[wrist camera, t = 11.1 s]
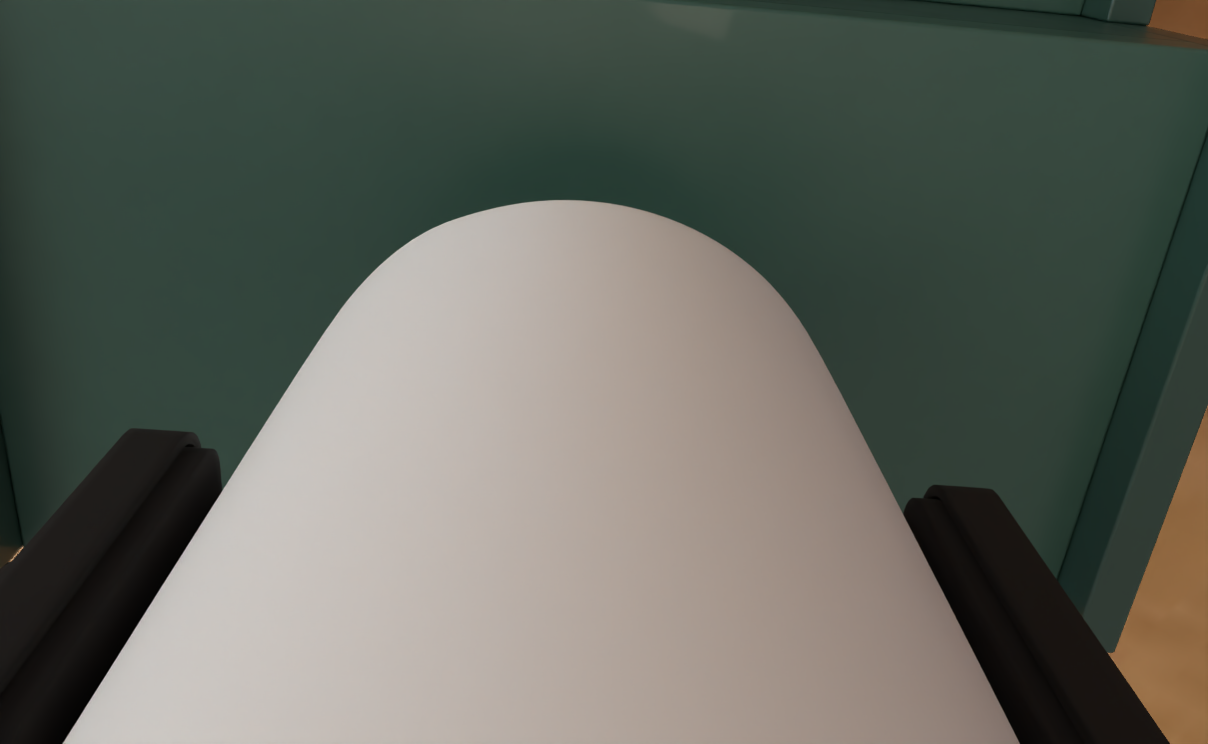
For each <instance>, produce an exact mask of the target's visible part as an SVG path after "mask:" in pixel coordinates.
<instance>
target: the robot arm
mask: <svg viewBox="0 0 1208 744" xmlns="http://www.w3.org/2000/svg"><path fill="white" fill-rule="evenodd" d="M221 492H222V481H221V468H220V460H219V456H218V453H217V451H216V450H215V449H211V448H201V443H200V441H199V438H198V436H197V435H196V434H195V433H194V432H184V431H170V430H156V429H142V428H130V429H129V430H128V431H126V432H125V433H124V434H123V435H122V436H121V437H120V438H119V440H118V441H117V442H116V443H115V444H114V445H113V446H112V448H111V449H110V450H109V451H108V452H107V453H106V454H105V456H104V457H103V458H102V459H101V460H100V461H99V462H98V464H97V465H96V466H95V467H94V468H93V469H92V470H91V472H90V473H89V474H88V475H87V476H86V477H85V478H84V480H83V481H82V482H81V483H80V484H79V485H78V487H77V488H76V489H75V490H74V491H73V492H72V493H71V495H70V496H69V497H68V498H67V499H66V500H65V501H64V503H63V504H62V505H61V506H60V507H59V508H58V509H57V511H56V512H55V513H54V514H53V515H52V516H51V517H50V519H49V520H48V521H47V522H46V523H45V524H44V525H43V527H42V528H41V529H40V530H39V531H38V532H37V533H36V535H35V536H34V537H33V538H32V539H31V540H30V541H29V543H28V544H27V545H26V546H25V547H24V548H23V549H22V551H21V552H20V553H19V554H18V555H17V556H16V557H15V559H14V560H13V561H12V562H8V563H6V564H5V565H4V566H3V567H2V568H0V744H63V742H64V741H65V739H66V738H67V736H68V734H69V733H70V731H71V730H72V728H73V727H74V725H75V723H76V722H77V720H78V719H79V717H80V715H81V714H82V712H83V711H84V709H85V708H86V706H87V704H88V703H89V701H90V700H91V698H92V696H93V695H94V693H95V692H96V690H97V688H98V687H99V685H100V684H101V682H102V681H103V679H104V677H105V676H106V674H107V673H108V671H109V669H110V668H111V666H112V665H113V663H114V661H115V660H116V658H117V657H118V655H119V654H120V652H121V650H122V649H123V647H124V646H125V644H126V642H127V641H128V639H129V638H130V636H131V635H132V633H133V631H134V630H135V628H136V627H137V625H138V623H139V622H140V620H141V619H142V617H143V615H144V614H145V612H146V611H147V609H148V608H149V606H150V604H151V603H152V601H153V600H154V598H155V596H156V595H157V593H158V592H159V590H160V588H161V587H162V585H163V584H164V582H165V581H166V579H167V577H168V576H169V574H170V573H171V571H172V570H173V568H174V566H175V565H176V563H177V562H178V560H179V558H180V557H181V555H182V554H183V552H184V551H185V549H186V547H187V546H188V544H189V543H190V541H191V540H192V538H193V536H194V535H195V533H196V532H197V530H198V528H199V527H200V525H201V524H202V522H203V521H204V519H205V517H206V516H207V514H208V513H209V511H210V510H211V508H212V506H213V505H214V503H215V502H216V500H217V499H218V497H219V495H220V494H221ZM903 515H904V517H905V519H906V521H907V523H908V525H909V527H910V529H911V531H912V533H913V535H914V537H915V539H916V541H917V543H918V545H919V546H920V548H921V550H922V552H923V554H924V556H925V558H926V560H927V562H928V564H929V566H930V568H931V570H932V572H933V574H934V576H935V578H936V580H937V582H938V584H939V586H940V588H941V589H942V591H943V593H944V595H945V597H946V599H947V601H948V603H949V605H950V607H951V609H952V611H953V613H954V615H955V617H956V619H957V621H958V623H959V625H960V627H961V629H962V631H963V633H964V635H965V637H966V639H967V641H968V643H969V644H970V646H971V648H972V650H973V652H974V654H975V656H976V658H977V660H978V662H979V664H980V666H981V668H982V670H983V672H984V674H985V676H986V678H987V680H988V682H989V684H990V686H991V688H992V690H993V692H994V694H995V696H996V698H997V700H998V702H999V704H1000V706H1001V707H1002V709H1003V711H1004V713H1005V715H1006V717H1007V719H1008V721H1009V723H1010V725H1011V727H1012V729H1013V731H1014V733H1015V735H1016V737H1017V739H1018V741H1019V743H1020V744H1170V743H1169V742H1168V740H1167V739H1166V737H1165V736H1164V734H1163V733H1162V731H1161V730H1160V729H1159V727H1158V726H1157V724H1156V723H1155V721H1154V720H1153V718H1152V717H1151V716H1150V714H1149V713H1148V711H1147V710H1146V708H1145V707H1144V705H1143V704H1142V702H1141V701H1140V700H1139V698H1138V697H1137V695H1136V694H1135V692H1134V691H1133V689H1132V688H1131V687H1130V685H1129V684H1128V682H1127V681H1126V679H1125V678H1124V676H1123V675H1122V674H1121V672H1120V671H1119V669H1118V668H1117V666H1116V665H1115V663H1114V662H1113V660H1112V659H1111V658H1110V656H1109V655H1108V653H1107V652H1106V650H1105V649H1104V647H1103V646H1102V645H1101V643H1100V642H1099V640H1098V639H1097V637H1096V636H1095V634H1094V633H1093V631H1092V630H1091V629H1090V627H1089V626H1088V624H1087V623H1086V621H1085V620H1084V618H1083V617H1082V616H1081V614H1080V613H1079V611H1078V610H1077V608H1076V607H1075V605H1074V604H1073V603H1072V601H1071V600H1070V598H1069V597H1068V595H1067V594H1066V592H1065V591H1064V589H1063V588H1062V587H1061V585H1060V584H1059V582H1058V581H1057V579H1056V578H1055V576H1054V575H1053V574H1052V572H1051V571H1050V569H1049V568H1048V566H1047V565H1046V563H1045V562H1044V561H1043V559H1042V558H1041V556H1040V555H1039V553H1038V552H1037V550H1036V549H1035V547H1034V546H1033V545H1032V543H1031V542H1030V540H1029V539H1028V537H1027V536H1026V534H1025V533H1024V532H1023V530H1022V529H1021V527H1020V526H1019V524H1018V523H1017V521H1016V520H1015V518H1014V517H1013V516H1012V514H1011V513H1010V511H1009V510H1008V508H1007V507H1006V505H1005V504H1004V503H1003V501H1002V500H1001V498H1000V497H999V495H998V494H997V493H996V492H995V491H994V490H993V489H988V488H976V487H962V486H948V485H932V486H931V487H929V488H928V490H927V491H926V493H925V494H924V497H923V498H911V499H910V500H909V501H908V502H907V504H906V506H905V509H904V512H903Z"/></svg>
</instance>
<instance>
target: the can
mask: <svg viewBox="0 0 1208 744" xmlns="http://www.w3.org/2000/svg"><path fill="white" fill-rule="evenodd" d="M63 744H1020V743H1019V741H1018V739H1017V737H1016V735H1015V733H1014V731H1013V729H1012V727H1011V725H1010V723H1009V721H1008V719H1007V717H1006V715H1005V713H1004V711H1003V709H1002V707H1001V706H1000V704H999V702H998V700H997V698H996V696H995V694H994V692H993V690H992V688H991V686H990V684H989V682H988V680H987V678H986V676H985V674H984V672H983V670H982V668H981V666H980V664H979V662H978V660H977V658H976V656H975V654H974V652H973V650H972V648H971V646H970V644H969V643H968V641H967V639H966V637H965V635H964V633H963V631H962V629H961V627H960V625H959V623H958V621H957V619H956V617H955V615H954V613H953V611H952V609H951V607H950V605H949V603H948V601H947V599H946V597H945V595H944V593H943V591H942V589H941V588H940V586H939V584H938V582H937V580H936V578H935V576H934V574H933V572H932V570H931V568H930V566H929V564H928V562H927V560H926V558H925V556H924V554H923V552H922V550H921V548H920V546H919V545H918V543H917V541H916V539H915V537H914V535H913V533H912V531H911V529H910V527H909V525H908V523H907V521H906V519H905V517H904V515H903V513H902V511H901V509H900V507H899V505H898V503H897V502H896V500H895V498H894V496H893V494H892V492H891V490H890V488H889V486H888V484H887V482H886V480H885V478H884V476H883V474H882V472H881V470H880V468H879V466H878V464H877V463H876V461H875V459H874V457H873V455H872V453H871V451H870V449H869V447H868V445H867V443H866V441H865V439H864V437H863V435H862V433H861V432H860V430H859V428H858V426H857V424H856V422H855V420H854V418H853V416H852V414H851V412H850V410H849V408H848V406H847V404H846V403H845V401H844V399H843V397H842V395H841V393H840V391H839V389H838V387H837V385H836V384H835V382H834V380H833V378H832V376H831V374H830V372H829V370H828V369H827V367H826V365H825V363H824V361H823V359H822V357H821V356H820V354H819V352H818V350H817V349H816V347H815V345H814V343H813V342H812V340H811V338H810V336H809V335H808V333H807V331H806V330H805V328H804V327H803V325H802V323H801V322H800V320H799V319H798V318H797V316H796V315H795V313H794V312H793V311H792V309H791V308H790V307H789V305H788V304H787V303H786V302H785V300H784V299H783V298H782V297H781V296H780V294H779V293H778V292H777V291H776V290H775V289H774V288H773V287H772V286H771V284H770V283H769V282H768V281H767V280H766V279H765V278H764V277H762V276H761V275H760V274H759V273H758V272H757V271H756V270H755V269H754V268H753V267H751V266H750V265H749V264H748V263H746V262H745V261H744V260H743V259H741V258H740V257H739V256H737V255H736V254H735V253H733V252H732V251H730V250H729V249H727V248H726V247H724V246H723V245H721V244H720V243H718V242H716V241H715V240H713V239H711V238H709V237H708V236H706V235H704V234H702V233H700V232H698V231H696V230H694V229H692V228H690V227H688V226H685V225H683V224H681V223H679V222H676V221H673V220H671V219H668V218H666V217H663V216H660V215H657V214H654V213H650V212H647V211H643V210H640V209H635V208H631V207H627V206H621V205H616V204H610V203H602V202H593V201H580V200H549V201H535V202H526V203H519V204H513V205H507V206H502V207H497V208H493V209H489V210H485V211H481V212H477V213H474V214H470V215H467V216H464V217H460V218H457V219H454V220H452V221H449V222H446V223H444V224H441V225H439V226H437V227H434V228H432V229H430V230H429V231H427V232H425V233H423V234H421V235H419V236H418V237H416V238H415V239H413V240H411V241H410V242H409V243H407V244H406V245H404V246H403V247H401V248H400V249H399V250H397V251H396V252H395V253H394V254H392V255H391V256H390V257H389V258H388V259H386V260H385V261H384V262H383V263H382V264H381V265H380V266H379V267H378V268H377V269H376V270H375V271H373V272H372V273H371V274H370V276H369V277H368V278H367V279H366V280H365V281H364V282H363V283H362V284H361V285H360V286H359V287H358V288H357V290H356V291H355V292H354V293H353V294H352V296H351V297H350V298H349V299H348V300H347V302H346V303H345V304H344V306H343V307H342V308H341V310H340V311H339V312H338V314H337V315H336V317H335V318H334V320H333V321H332V322H331V324H330V325H329V327H328V328H327V329H326V331H325V332H324V334H323V335H322V337H321V338H320V340H319V341H318V343H317V344H316V346H315V347H314V349H313V350H312V352H311V353H310V355H309V356H308V358H307V359H306V361H305V362H304V364H303V365H302V367H301V369H300V370H299V372H298V373H297V375H296V376H295V378H294V379H293V381H292V382H291V384H290V386H289V387H288V389H287V390H286V392H285V393H284V395H283V396H282V398H281V400H280V401H279V403H278V404H277V406H276V407H275V409H274V411H273V412H272V414H271V415H270V417H269V418H268V420H267V421H266V423H265V425H264V426H263V428H262V429H261V431H260V432H259V434H258V436H257V437H256V439H255V440H254V442H253V443H252V445H251V446H250V448H249V450H248V451H247V453H246V454H245V456H244V457H243V459H242V461H241V462H240V464H239V465H238V467H237V469H236V470H235V472H234V473H233V475H232V476H231V478H230V480H229V481H228V483H227V484H226V486H225V487H224V489H223V491H222V492H221V494H220V495H219V497H218V499H217V500H216V502H215V503H214V505H213V506H212V508H211V510H210V511H209V513H208V514H207V516H206V517H205V519H204V521H203V522H202V524H201V525H200V527H199V528H198V530H197V532H196V533H195V535H194V536H193V538H192V540H191V541H190V543H189V544H188V546H187V547H186V549H185V551H184V552H183V554H182V555H181V557H180V558H179V560H178V562H177V563H176V565H175V566H174V568H173V570H172V571H171V573H170V574H169V576H168V577H167V579H166V581H165V582H164V584H163V585H162V587H161V588H160V590H159V592H158V593H157V595H156V596H155V598H154V600H153V601H152V603H151V604H150V606H149V608H148V609H147V611H146V612H145V614H144V615H143V617H142V619H141V620H140V622H139V623H138V625H137V627H136V628H135V630H134V631H133V633H132V635H131V636H130V638H129V639H128V641H127V642H126V644H125V646H124V647H123V649H122V650H121V652H120V654H119V655H118V657H117V658H116V660H115V661H114V663H113V665H112V666H111V668H110V669H109V671H108V673H107V674H106V676H105V677H104V679H103V681H102V682H101V684H100V685H99V687H98V688H97V690H96V692H95V693H94V695H93V696H92V698H91V700H90V701H89V703H88V704H87V706H86V708H85V709H84V711H83V712H82V714H81V715H80V717H79V719H78V720H77V722H76V723H75V725H74V727H73V728H72V730H71V731H70V733H69V734H68V736H67V738H66V739H65V741H64V742H63Z"/></svg>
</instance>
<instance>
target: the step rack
mask: <svg viewBox="0 0 1208 744" xmlns="http://www.w3.org/2000/svg"><path fill="white" fill-rule="evenodd" d="M1155 3H1156V0H0V568H2V567H3V566H4V565H5V564H6V563H8V562H9V561H10V560H11V559H12V557H13V556H14V555H15V554H16V553H17V552H18V551H19V549H20V548H21V547H22V546H23V547H25V546H26V545H27V544H28V543H29V541H30V540H31V539H32V538H33V537H34V536H35V535H36V533H37V532H38V531H39V530H40V529H41V528H42V527H43V525H44V524H45V523H46V522H47V521H48V520H49V519H50V517H51V516H52V515H53V514H54V513H55V512H56V511H57V509H58V508H59V507H60V506H61V505H62V504H63V503H64V501H65V500H66V499H67V498H68V497H69V496H70V495H71V493H72V492H73V491H74V490H75V489H76V488H77V487H78V485H79V484H80V483H81V482H82V481H83V480H84V478H85V477H86V476H87V475H88V474H89V473H90V472H91V470H92V469H93V468H94V467H95V466H96V465H97V464H98V462H99V461H100V460H101V459H102V458H103V457H104V456H105V454H106V453H107V452H108V451H109V450H110V449H111V448H112V446H113V445H114V444H115V443H116V442H117V441H118V440H119V438H120V437H121V436H122V435H123V434H124V433H125V432H126V431H128V430H129V429H130V428H142V429H156V430H170V431H184V432H194V433H195V434H196V435H197V436H198V438H199V441H200V443H201V448H211V449H215V450H216V451H217V453H218V456H219V460H220V468H221V481H222V491H223V489H224V487H225V486H226V484H227V483H228V481H229V480H230V478H231V476H232V475H233V473H234V472H235V470H236V469H237V467H238V465H239V464H240V462H241V461H242V459H243V457H244V456H245V454H246V453H247V451H248V450H249V448H250V446H251V445H252V443H253V442H254V440H255V439H256V437H257V436H258V434H259V432H260V431H261V429H262V428H263V426H264V425H265V423H266V421H267V420H268V418H269V417H270V415H271V414H272V412H273V411H274V409H275V407H276V406H277V404H278V403H279V401H280V400H281V398H282V396H283V395H284V393H285V392H286V390H287V389H288V387H289V386H290V384H291V382H292V381H293V379H294V378H295V376H296V375H297V373H298V372H299V370H300V369H301V367H302V365H303V364H304V362H305V361H306V359H307V358H308V356H309V355H310V353H311V352H312V350H313V349H314V347H315V346H316V344H317V343H318V341H319V340H320V338H321V337H322V335H323V334H324V332H325V331H326V329H327V328H328V327H329V325H330V324H331V322H332V321H333V320H334V318H335V317H336V315H337V314H338V312H339V311H340V310H341V308H342V307H343V306H344V304H345V303H346V302H347V300H348V299H349V298H350V297H351V296H352V294H353V293H354V292H355V291H356V290H357V288H358V287H359V286H360V285H361V284H362V283H363V282H364V281H365V280H366V279H367V278H368V277H369V276H370V274H371V273H372V272H373V271H375V270H376V269H377V268H378V267H379V266H380V265H381V264H382V263H383V262H384V261H385V260H386V259H388V258H389V257H390V256H391V255H392V254H394V253H395V252H396V251H397V250H399V249H400V248H401V247H403V246H404V245H406V244H407V243H409V242H410V241H411V240H413V239H415V238H416V237H418V236H419V235H421V234H423V233H425V232H427V231H429V230H430V229H432V228H434V227H437V226H439V225H441V224H444V223H446V222H449V221H452V220H454V219H457V218H460V217H464V216H467V215H470V214H474V213H477V212H481V211H485V210H489V209H493V208H497V207H502V206H507V205H513V204H519V203H526V202H535V201H549V200H580V201H593V202H602V203H610V204H616V205H621V206H627V207H631V208H635V209H640V210H643V211H647V212H650V213H654V214H657V215H660V216H663V217H666V218H668V219H671V220H673V221H676V222H679V223H681V224H683V225H685V226H688V227H690V228H692V229H694V230H696V231H698V232H700V233H702V234H704V235H706V236H708V237H709V238H711V239H713V240H715V241H716V242H718V243H720V244H721V245H723V246H724V247H726V248H727V249H729V250H730V251H732V252H733V253H735V254H736V255H737V256H739V257H740V258H741V259H743V260H744V261H745V262H746V263H748V264H749V265H750V266H751V267H753V268H754V269H755V270H756V271H757V272H758V273H759V274H760V275H761V276H762V277H764V278H765V279H766V280H767V281H768V282H769V283H770V284H771V286H772V287H773V288H774V289H775V290H776V291H777V292H778V293H779V294H780V296H781V297H782V298H783V299H784V300H785V302H786V303H787V304H788V305H789V307H790V308H791V309H792V311H793V312H794V313H795V315H796V316H797V318H798V319H799V320H800V322H801V323H802V325H803V327H804V328H805V330H806V331H807V333H808V335H809V336H810V338H811V340H812V342H813V343H814V345H815V347H816V349H817V350H818V352H819V354H820V356H821V357H822V359H823V361H824V363H825V365H826V367H827V369H828V370H829V372H830V374H831V376H832V378H833V380H834V382H835V384H836V385H837V387H838V389H839V391H840V393H841V395H842V397H843V399H844V401H845V403H846V404H847V406H848V408H849V410H850V412H851V414H852V416H853V418H854V420H855V422H856V424H857V426H858V428H859V430H860V432H861V433H862V435H863V437H864V439H865V441H866V443H867V445H868V447H869V449H870V451H871V453H872V455H873V457H874V459H875V461H876V463H877V464H878V466H879V468H880V470H881V472H882V474H883V476H884V478H885V480H886V482H887V484H888V486H889V488H890V490H891V492H892V494H893V496H894V498H895V500H896V502H897V503H898V505H899V507H900V509H901V511H902V513H903V512H904V509H905V506H906V504H907V502H908V501H909V500H910V499H911V498H923V497H924V494H925V493H926V491H927V490H928V488H929V487H931V486H932V485H948V486H962V487H976V488H988V489H993V490H994V491H995V492H996V493H997V494H998V495H999V497H1000V498H1001V500H1002V501H1003V503H1004V504H1005V505H1006V507H1007V508H1008V510H1009V511H1010V513H1011V514H1012V516H1013V517H1014V518H1015V520H1016V521H1017V523H1018V524H1019V526H1020V527H1021V529H1022V530H1023V532H1024V533H1025V534H1026V536H1027V537H1028V539H1029V540H1030V542H1031V543H1032V545H1033V546H1034V547H1035V549H1036V550H1037V552H1038V553H1039V555H1040V556H1041V558H1042V559H1043V561H1044V562H1045V563H1046V565H1047V566H1048V568H1049V569H1050V571H1051V572H1052V574H1053V575H1054V576H1055V578H1056V579H1057V581H1058V582H1059V584H1060V585H1061V587H1062V588H1063V589H1064V591H1065V592H1066V594H1067V595H1068V597H1069V598H1070V600H1071V601H1072V603H1073V604H1074V605H1075V607H1076V608H1077V610H1078V611H1079V613H1080V614H1081V616H1082V617H1083V618H1084V620H1085V621H1086V623H1087V624H1088V626H1089V627H1090V629H1091V630H1092V631H1093V633H1094V634H1095V636H1096V637H1097V639H1098V640H1099V642H1100V643H1101V645H1102V646H1103V647H1104V649H1105V650H1106V652H1107V653H1113V652H1114V651H1115V649H1116V646H1117V643H1118V641H1119V638H1120V636H1121V633H1122V630H1123V628H1124V625H1125V622H1126V620H1127V617H1128V614H1129V612H1130V609H1131V606H1132V604H1133V601H1134V599H1135V596H1136V593H1137V591H1138V588H1139V585H1140V583H1141V580H1142V577H1143V575H1144V572H1145V569H1146V567H1147V564H1148V562H1149V559H1150V556H1151V554H1152V551H1153V548H1154V546H1155V543H1156V540H1157V538H1158V535H1159V532H1160V530H1161V527H1162V525H1163V522H1164V519H1165V517H1166V514H1167V511H1168V509H1169V506H1170V503H1171V501H1172V498H1173V495H1174V493H1175V490H1176V487H1177V485H1178V482H1179V480H1180V477H1181V474H1182V472H1183V469H1184V466H1185V464H1186V461H1187V458H1188V456H1189V453H1190V450H1191V448H1192V445H1193V443H1194V440H1195V437H1196V435H1197V432H1198V429H1199V427H1200V424H1201V421H1202V419H1203V416H1204V413H1205V411H1206V408H1207V406H1208V40H1207V39H1203V38H1198V37H1194V36H1189V35H1185V34H1180V33H1175V32H1171V31H1166V30H1162V29H1157V28H1153V27H1148V26H1146V25H1149V23H1150V20H1151V16H1152V13H1153V9H1154V6H1155Z"/></svg>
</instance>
